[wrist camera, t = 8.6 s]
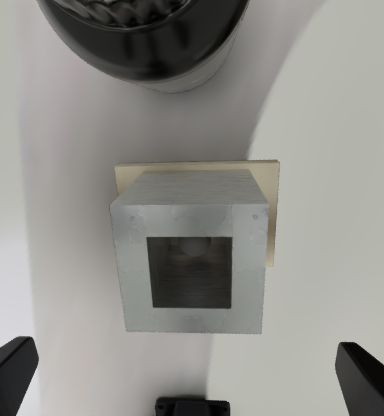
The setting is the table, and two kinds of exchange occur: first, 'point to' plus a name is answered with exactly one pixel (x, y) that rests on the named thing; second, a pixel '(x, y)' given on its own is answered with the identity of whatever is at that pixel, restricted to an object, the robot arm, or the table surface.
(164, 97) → the table surface
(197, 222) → the hollow square tube
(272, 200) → the shaft plate
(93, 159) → the table surface
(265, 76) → the table surface
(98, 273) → the table surface
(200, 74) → the supplement bottle
